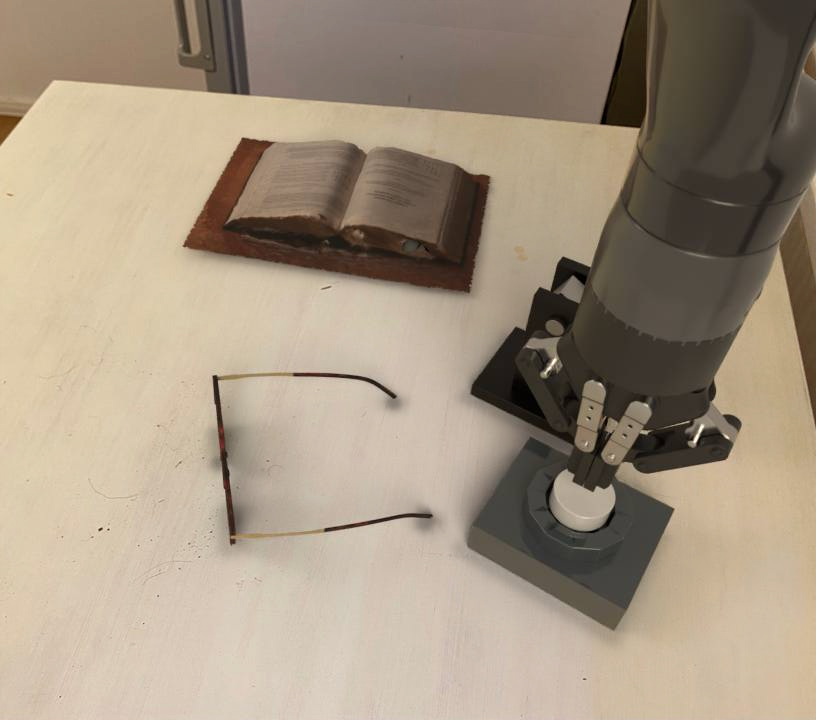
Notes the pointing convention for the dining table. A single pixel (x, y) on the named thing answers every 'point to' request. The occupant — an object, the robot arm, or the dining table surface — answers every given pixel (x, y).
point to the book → (346, 211)
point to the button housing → (569, 538)
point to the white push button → (580, 503)
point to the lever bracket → (502, 374)
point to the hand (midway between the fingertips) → (588, 477)
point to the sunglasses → (227, 474)
